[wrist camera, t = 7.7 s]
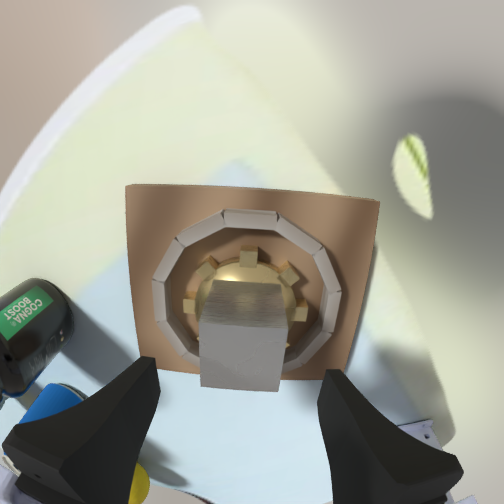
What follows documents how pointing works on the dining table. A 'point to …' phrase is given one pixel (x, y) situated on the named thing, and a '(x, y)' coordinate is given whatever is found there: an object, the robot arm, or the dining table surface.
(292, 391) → the dining table surface
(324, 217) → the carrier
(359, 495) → the robot arm
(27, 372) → the supplement bottle
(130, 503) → the lemon
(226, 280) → the gear
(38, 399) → the beverage can
